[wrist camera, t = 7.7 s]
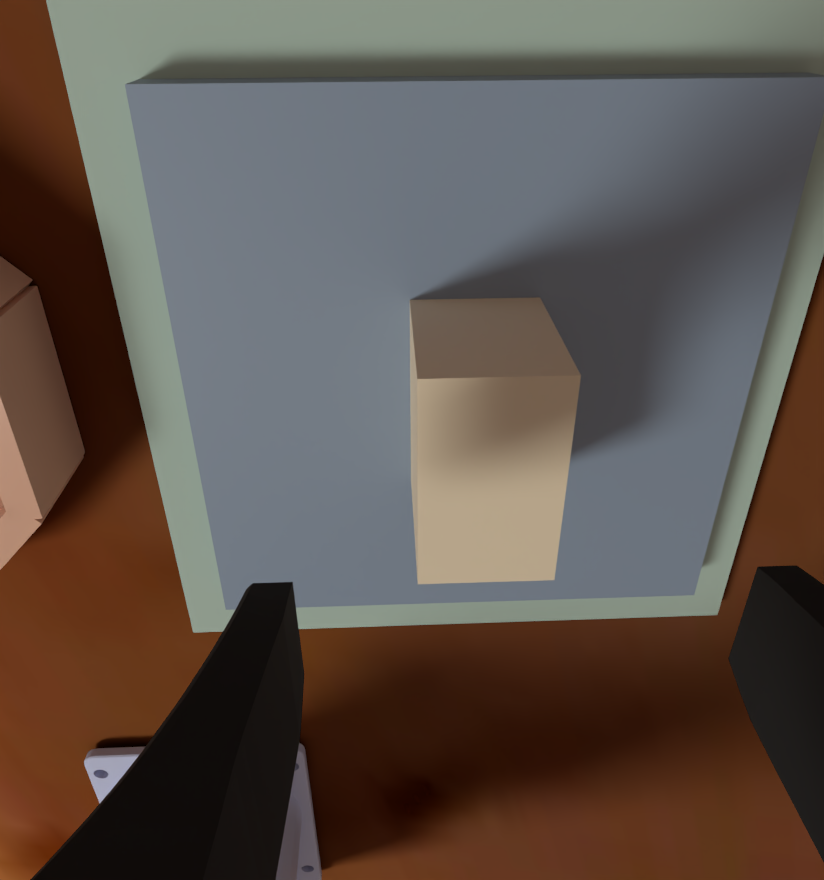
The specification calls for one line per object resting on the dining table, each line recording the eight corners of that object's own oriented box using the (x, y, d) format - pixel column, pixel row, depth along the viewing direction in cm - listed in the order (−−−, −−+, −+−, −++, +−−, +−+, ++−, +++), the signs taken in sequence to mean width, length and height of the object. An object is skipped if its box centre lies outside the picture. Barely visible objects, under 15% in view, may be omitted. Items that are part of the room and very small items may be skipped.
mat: (711, 604, 24) (717, 614, 24) (196, 620, 24) (193, 632, 23) (897, -47, 15) (912, -48, 14) (46, -41, 14) (36, -42, 14)
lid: (682, 572, 23) (752, 706, 18) (231, 586, 22) (196, 726, 18) (808, 72, 15) (972, 103, 11) (138, 78, 15) (43, 113, 11)
